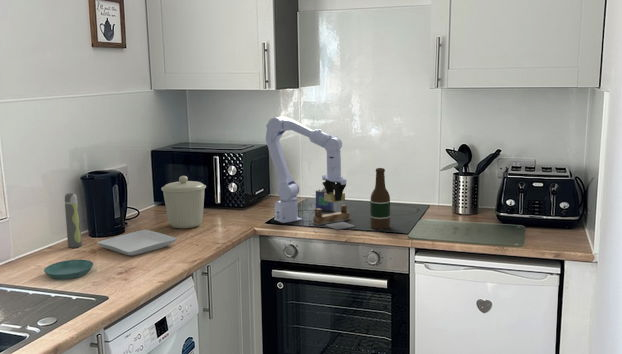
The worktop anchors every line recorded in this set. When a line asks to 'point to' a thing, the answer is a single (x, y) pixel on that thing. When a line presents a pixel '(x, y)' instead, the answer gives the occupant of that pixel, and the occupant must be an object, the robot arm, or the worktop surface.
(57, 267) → the saucer
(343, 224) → the mat
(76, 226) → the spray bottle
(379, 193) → the beer bottle
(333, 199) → the pale yellow block
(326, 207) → the flask
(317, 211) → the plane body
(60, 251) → the worktop surface
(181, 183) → the canister
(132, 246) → the salad plate
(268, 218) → the worktop surface
